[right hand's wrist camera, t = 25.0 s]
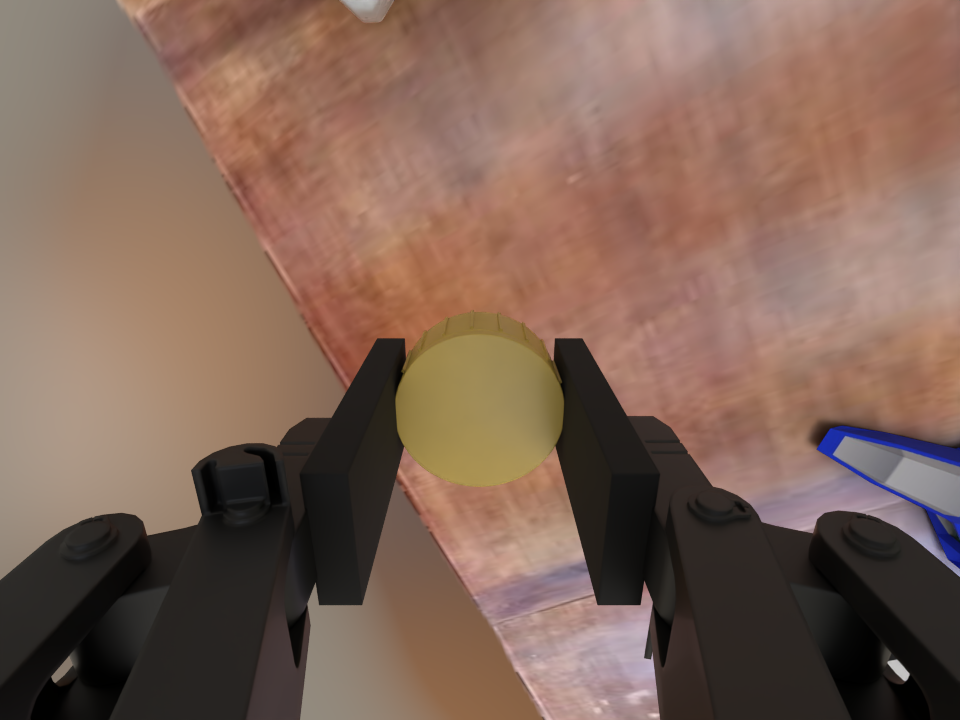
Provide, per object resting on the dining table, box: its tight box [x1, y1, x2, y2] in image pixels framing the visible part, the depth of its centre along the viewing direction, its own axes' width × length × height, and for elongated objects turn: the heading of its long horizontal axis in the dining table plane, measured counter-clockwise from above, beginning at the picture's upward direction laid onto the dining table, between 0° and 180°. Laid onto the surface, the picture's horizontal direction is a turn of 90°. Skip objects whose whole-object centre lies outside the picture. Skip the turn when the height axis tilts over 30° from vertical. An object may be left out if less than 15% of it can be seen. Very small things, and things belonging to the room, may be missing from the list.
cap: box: [395, 310, 564, 487], centre depth 13 cm, size 4×4×2 cm
